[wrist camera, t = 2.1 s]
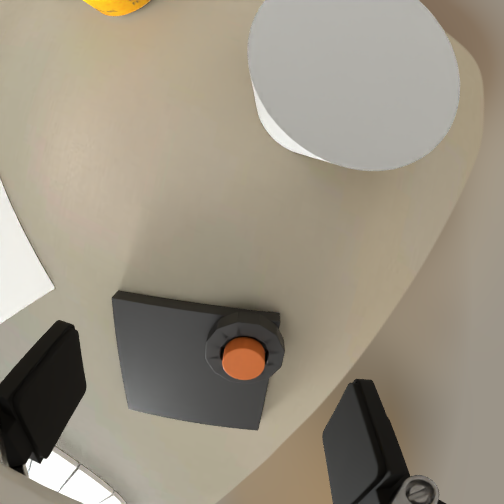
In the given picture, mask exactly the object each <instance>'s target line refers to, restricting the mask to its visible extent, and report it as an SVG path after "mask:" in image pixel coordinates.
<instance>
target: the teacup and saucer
mask: <svg viewBox="0 0 504 504" xmlns="http://www.w3.org/2000/svg"><path fill="white" fill-rule="evenodd" d="M53 289H55V287H54V285H53V284H52V282H51V280H50V279H49V277H48V275H47V274H46V272H45V270H44V268H43V267H42V265H41V263H40V261H39V259H38V258H37V256H36V254H35V252H34V250H33V248H32V247H31V245H30V243H29V241H28V239H27V237H26V235H25V233H24V231H23V229H22V227H21V225H20V223H19V221H18V219H17V216H16V214H15V212H14V210H13V208H12V206H11V203H10V201H9V199H8V196H7V194H6V192H5V189H4V187H3V185H2V182H1V180H0V324H1V323H2V322H4V321H5V320H7V319H8V318H10V317H11V316H13V315H14V314H16V313H17V312H19V311H20V310H22V309H23V308H25V307H26V306H28V305H29V304H31V303H33V302H34V301H36V300H37V299H39V298H40V297H42V296H43V295H45V294H47V293H48V292H50V291H51V290H53Z"/></svg>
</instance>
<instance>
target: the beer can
mask: <svg viewBox="0 0 504 504" xmlns="http://www.w3.org/2000/svg"><path fill="white" fill-rule="evenodd" d="M83 1H85V2H86V3H88V4H89V5H91V6H92V7H94V8H95V9H97V10H98V11H100V12H101V13H103V14H105V15H109V16H121V15H126V14H129V13H131V12H134V11H136V10H138V9H140V8H141V7H143V6H144V5H146V4H147V3H148V2H149V1H150V0H83Z"/></svg>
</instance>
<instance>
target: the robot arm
mask: <svg viewBox="0 0 504 504" xmlns="http://www.w3.org/2000/svg"><path fill="white" fill-rule="evenodd" d="M85 391H86V380H85V374H84V368H83V362H82V356H81V349H80V342H79V334H78V331H77V330H75V327H74V325H72V324H70V323H67V322H64V321H61V320H58V321H56V322H55V323H54V324H53V325H52V327H51V328H50V329H49V330H48V331H47V332H46V333H45V334H44V335H43V336H42V337H41V338H40V339H39V340H38V341H37V343H36V344H35V345H34V346H33V347H32V348H31V349H30V350H29V351H28V352H27V353H26V355H25V356H24V357H23V358H22V359H21V360H20V361H19V362H18V364H17V365H16V366H15V367H14V368H13V369H12V370H11V372H10V373H9V374H8V375H7V376H6V377H5V379H4V380H3V381H2V382H1V383H0V504H85V503H82V502H80V501H77V500H75V499H73V498H70V497H68V496H66V495H63V494H61V493H59V492H57V491H55V490H53V489H50V488H48V487H46V486H44V485H42V484H40V483H38V482H36V481H34V480H32V479H30V478H29V474H28V471H27V467H26V463H27V461H28V459H31V460H33V461H35V462H37V463H39V464H41V462H42V461H43V459H47V458H48V457H49V456H50V454H51V452H52V450H53V448H54V446H55V444H56V443H57V441H58V439H59V437H60V435H61V434H62V432H63V430H64V428H65V426H66V425H67V423H68V421H69V419H70V418H71V416H72V414H73V412H74V411H75V409H76V407H77V406H78V404H79V402H80V400H81V399H82V397H83V395H84V394H85ZM323 445H324V451H325V456H326V462H327V468H328V474H329V481H330V487H331V494H332V500H333V504H446V503H444V502H442V501H440V500H439V489H438V487H437V485H436V484H435V483H434V482H433V481H432V480H431V479H429V478H428V477H425V476H422V475H414V476H410V474H409V471H408V469H407V466H406V463H405V460H404V458H403V455H402V452H401V449H400V446H399V444H398V441H397V438H396V436H395V433H394V430H393V428H392V425H391V423H390V420H389V419H388V417H387V416H386V413H385V410H384V408H383V405H382V403H381V400H380V398H379V395H378V393H377V390H376V388H375V385H374V383H373V381H372V380H364V379H355V380H354V382H353V383H349V384H348V386H347V388H346V390H345V392H344V394H343V396H342V398H341V400H340V402H339V403H338V405H337V407H336V409H335V411H334V413H333V415H332V416H331V418H330V420H329V422H328V424H327V425H326V427H325V429H324V431H323Z"/></svg>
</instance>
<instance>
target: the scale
mask: <svg viewBox="0 0 504 504" xmlns="http://www.w3.org/2000/svg"><path fill="white" fill-rule="evenodd" d="M112 306H113V315H114V324H115V332H116V340H117V347H118V353H119V360H120V366H121V372H122V378H123V383H124V388H125V394H126V398H127V403H128V408H129V409H131V410H135V411H139V412H143V413H147V414H152V415H157V416H161V417H166V418H171V419H177V420H182V421H188V422H194V423H200V424H207V425H214V426H221V427H229V428H238V429H248V430H258V428H259V424H260V419H261V415H262V410H263V405H264V401H265V396H266V391H267V387H268V382H269V378H270V377H271V376H272V375H273V374H274V373H275V372H276V371H277V370H278V369H279V368H280V367H281V366H282V361H283V357H284V352H285V349H284V340H283V337H282V335H281V333H280V331H279V326H280V314H279V313H274V312H265V311H256V310H247V309H238V308H230V307H222V306H215V305H207V304H200V303H193V302H185V301H179V300H172V299H165V298H159V297H152V296H146V295H140V294H134V293H128V292H122V291H117V292H116V294H115V295H114V296H113V297H112ZM238 337H249V338H253V339H255V340H257V341H258V342H259V343H260V344H261V345H262V346H263V348H264V351H265V367H264V370H263V372H262V373H261V374H260V375H259V376H257V377H255V378H253V379H249V380H240V379H236V378H233V377H231V376H230V375H228V374H227V373H226V372H225V370H224V368H223V366H222V360H223V354H224V349H225V346H226V345H227V343H228V342H230V341H231V340H233V339H235V338H238Z"/></svg>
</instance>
